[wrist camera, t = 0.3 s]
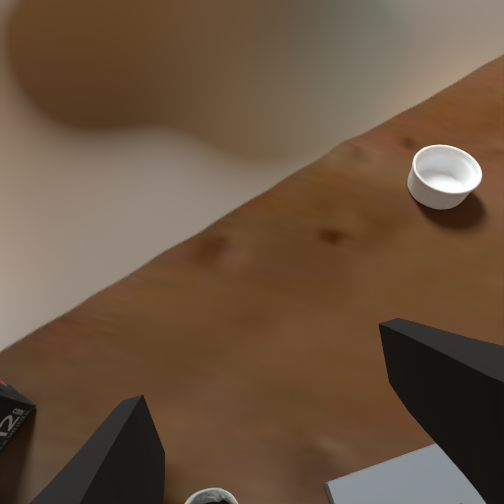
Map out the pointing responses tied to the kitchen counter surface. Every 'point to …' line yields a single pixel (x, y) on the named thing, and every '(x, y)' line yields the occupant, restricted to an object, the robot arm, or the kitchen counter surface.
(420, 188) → the ramekin
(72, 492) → the robot arm
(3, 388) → the soda box
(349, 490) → the board
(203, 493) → the ceramic mug
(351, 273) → the kitchen counter surface
